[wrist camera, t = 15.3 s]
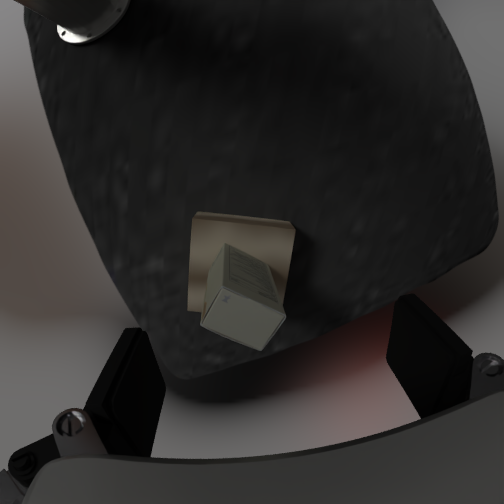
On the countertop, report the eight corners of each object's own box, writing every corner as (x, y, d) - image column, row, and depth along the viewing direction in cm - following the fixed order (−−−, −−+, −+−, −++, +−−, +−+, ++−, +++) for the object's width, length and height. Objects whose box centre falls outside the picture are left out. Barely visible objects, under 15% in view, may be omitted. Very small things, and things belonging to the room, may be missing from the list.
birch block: (198, 210, 38) (192, 218, 33) (288, 220, 39) (295, 229, 34) (193, 293, 42) (187, 310, 37) (275, 301, 43) (279, 319, 38)
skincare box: (207, 271, 35) (194, 324, 24) (224, 241, 34) (218, 283, 23) (254, 294, 37) (261, 354, 25) (272, 265, 36) (288, 316, 24)
